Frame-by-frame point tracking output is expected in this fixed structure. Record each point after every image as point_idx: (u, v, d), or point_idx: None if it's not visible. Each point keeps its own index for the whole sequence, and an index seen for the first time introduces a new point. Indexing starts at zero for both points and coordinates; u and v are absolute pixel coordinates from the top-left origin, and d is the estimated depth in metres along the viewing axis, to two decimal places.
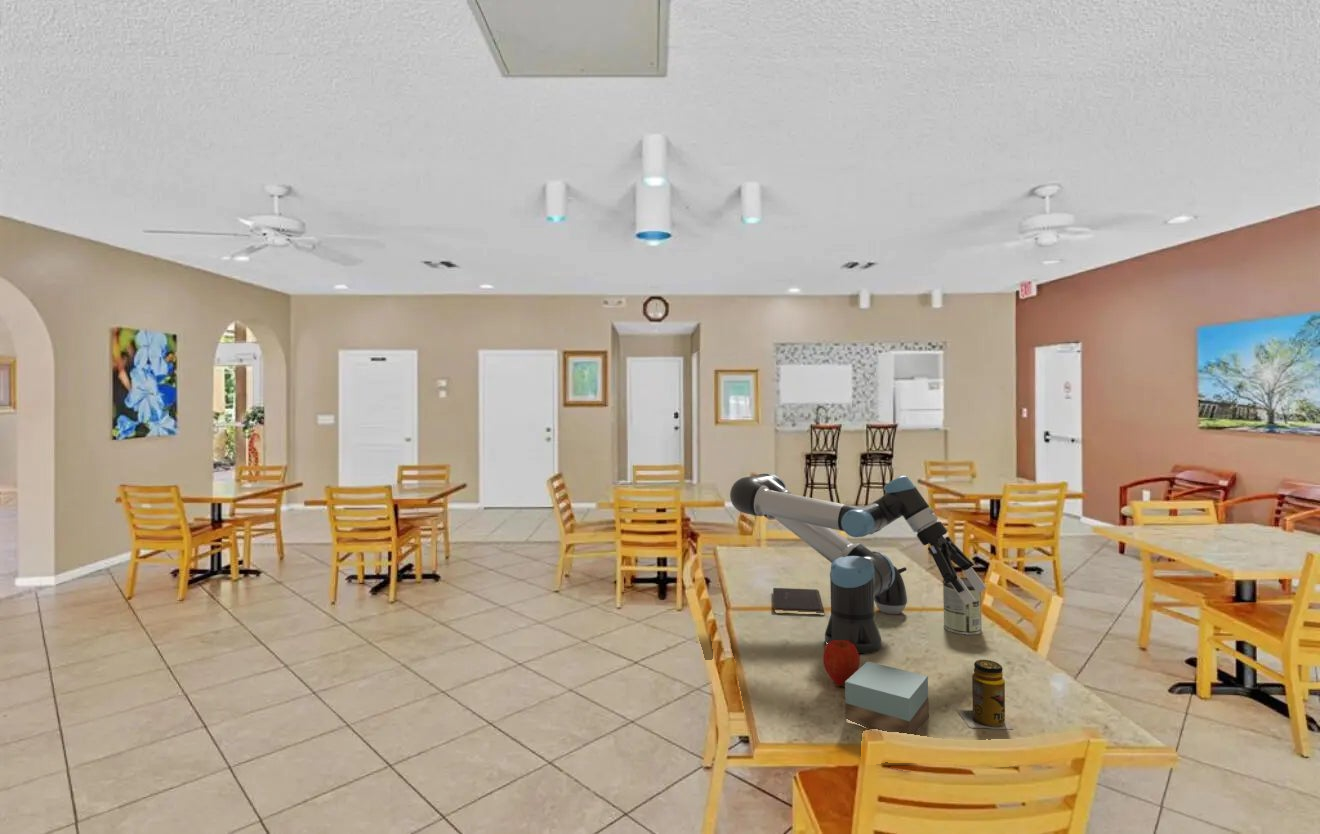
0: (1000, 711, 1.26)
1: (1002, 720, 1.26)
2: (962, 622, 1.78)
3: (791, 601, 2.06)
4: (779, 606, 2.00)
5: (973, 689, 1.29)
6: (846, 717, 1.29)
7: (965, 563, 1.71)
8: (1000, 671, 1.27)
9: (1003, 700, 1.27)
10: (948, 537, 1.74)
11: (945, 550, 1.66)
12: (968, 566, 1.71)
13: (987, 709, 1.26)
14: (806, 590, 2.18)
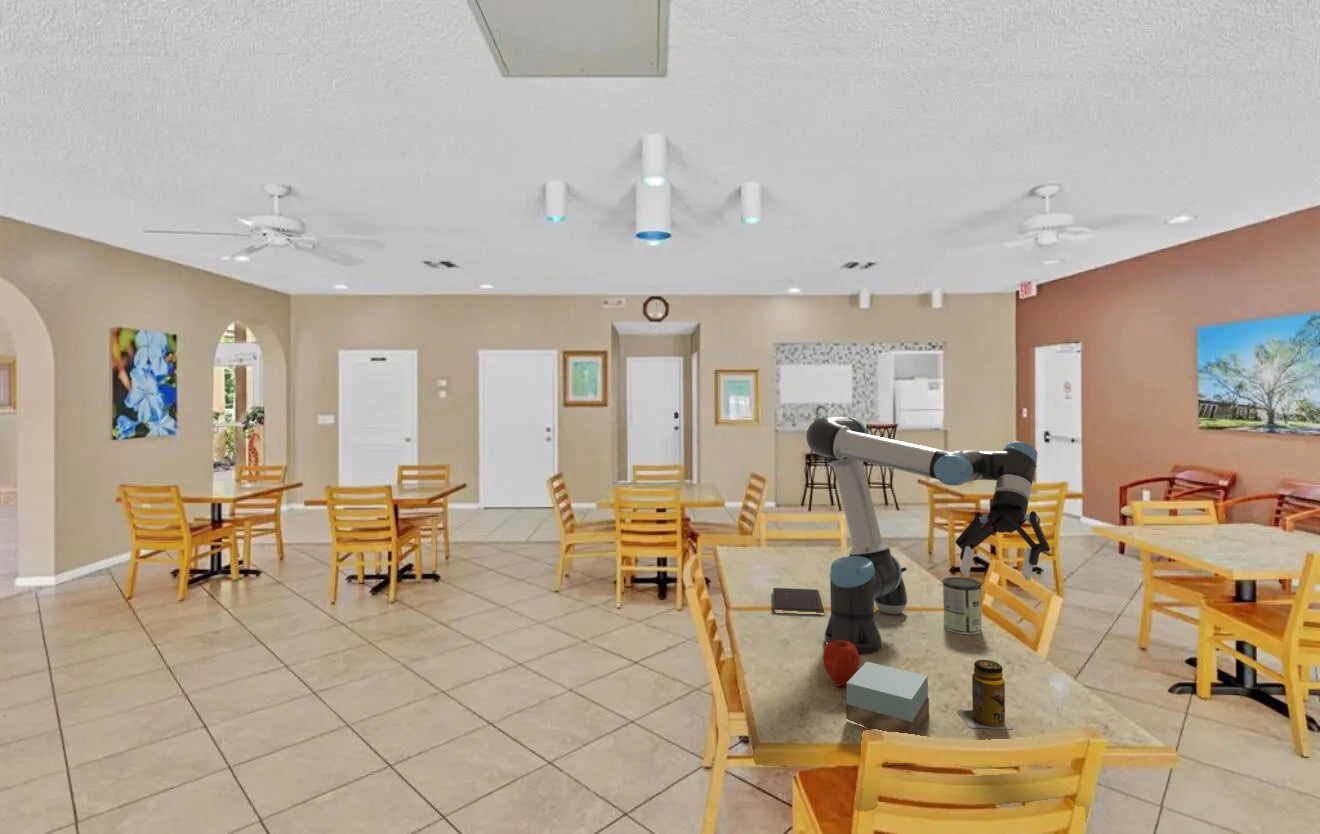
0: (1000, 711, 1.26)
1: (1002, 720, 1.26)
2: (962, 622, 1.78)
3: (791, 601, 2.06)
4: (779, 606, 2.00)
5: (973, 689, 1.29)
6: (847, 717, 1.29)
7: (975, 545, 1.48)
8: (1000, 671, 1.27)
9: (1003, 700, 1.27)
10: None
11: None
12: None
13: (987, 709, 1.26)
14: (806, 590, 2.18)
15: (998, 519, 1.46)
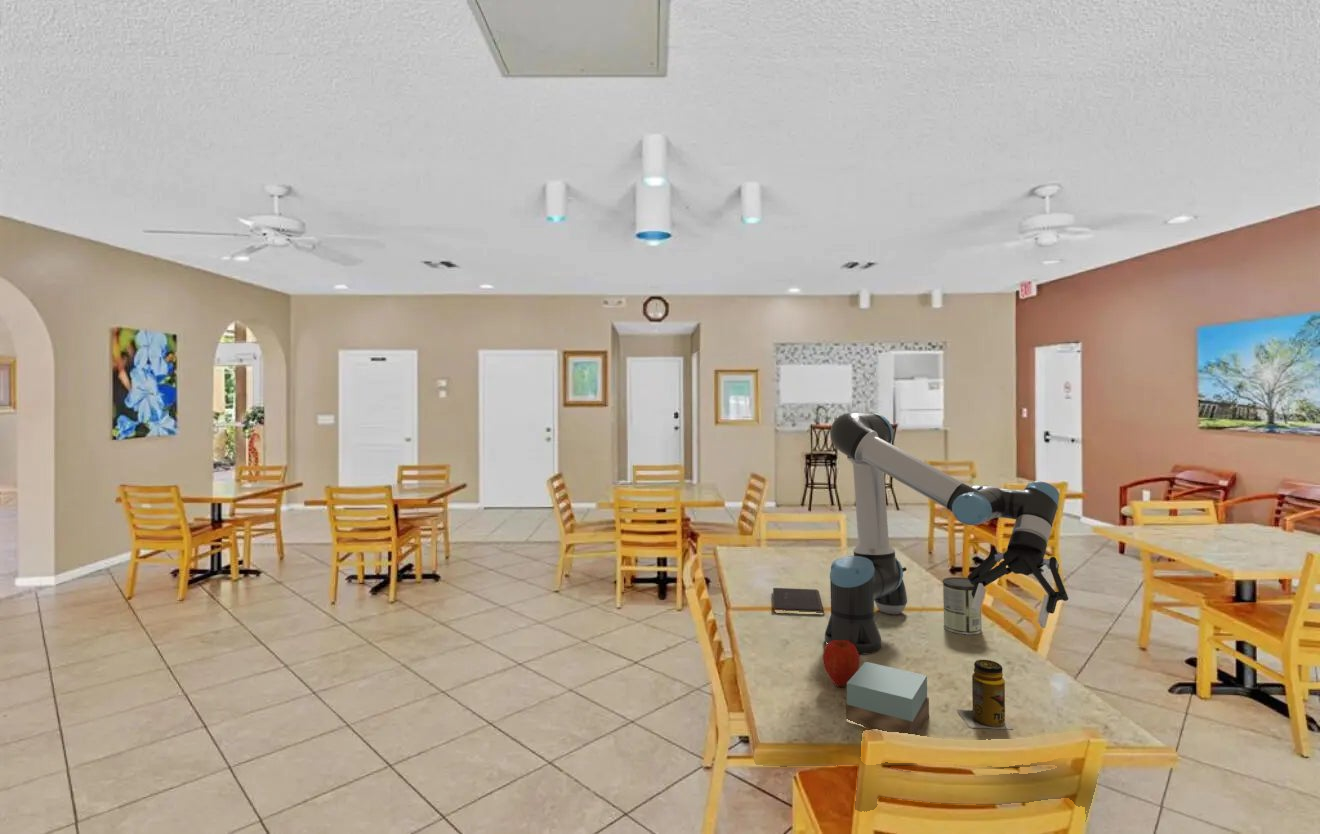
0: (1000, 711, 1.26)
1: (1002, 720, 1.26)
2: (962, 622, 1.78)
3: (791, 601, 2.06)
4: (779, 606, 2.00)
5: (973, 689, 1.29)
6: (847, 717, 1.29)
7: (988, 583, 1.44)
8: (1000, 671, 1.27)
9: (1003, 700, 1.27)
10: None
11: None
12: (982, 586, 1.44)
13: (987, 709, 1.26)
14: (806, 590, 2.18)
15: (1015, 560, 1.42)
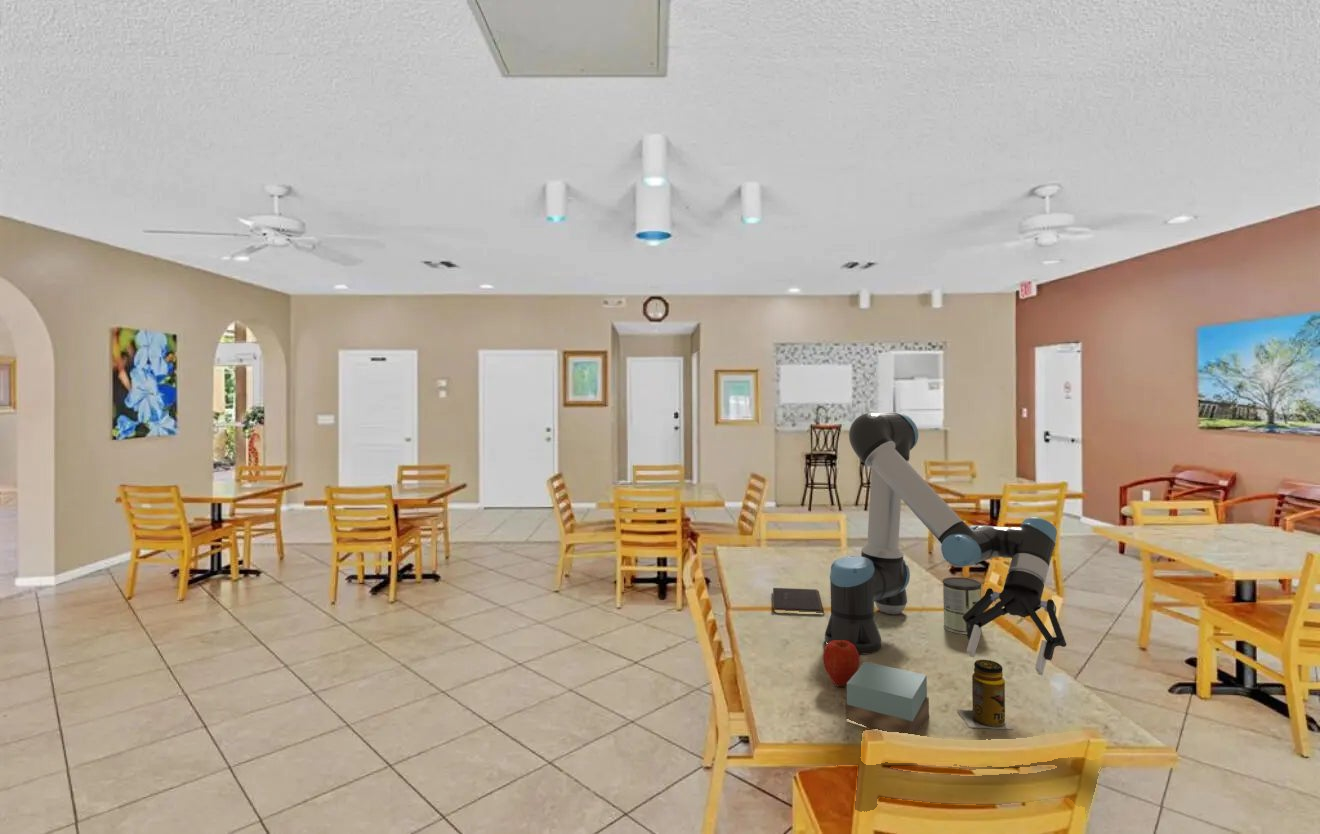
0: (1000, 711, 1.26)
1: (1002, 720, 1.26)
2: (962, 622, 1.78)
3: (791, 601, 2.06)
4: (779, 606, 2.00)
5: (973, 689, 1.29)
6: (847, 717, 1.29)
7: (983, 624, 1.40)
8: (1000, 671, 1.27)
9: (1003, 700, 1.27)
10: None
11: None
12: None
13: (987, 709, 1.26)
14: (806, 590, 2.18)
15: (1012, 601, 1.38)
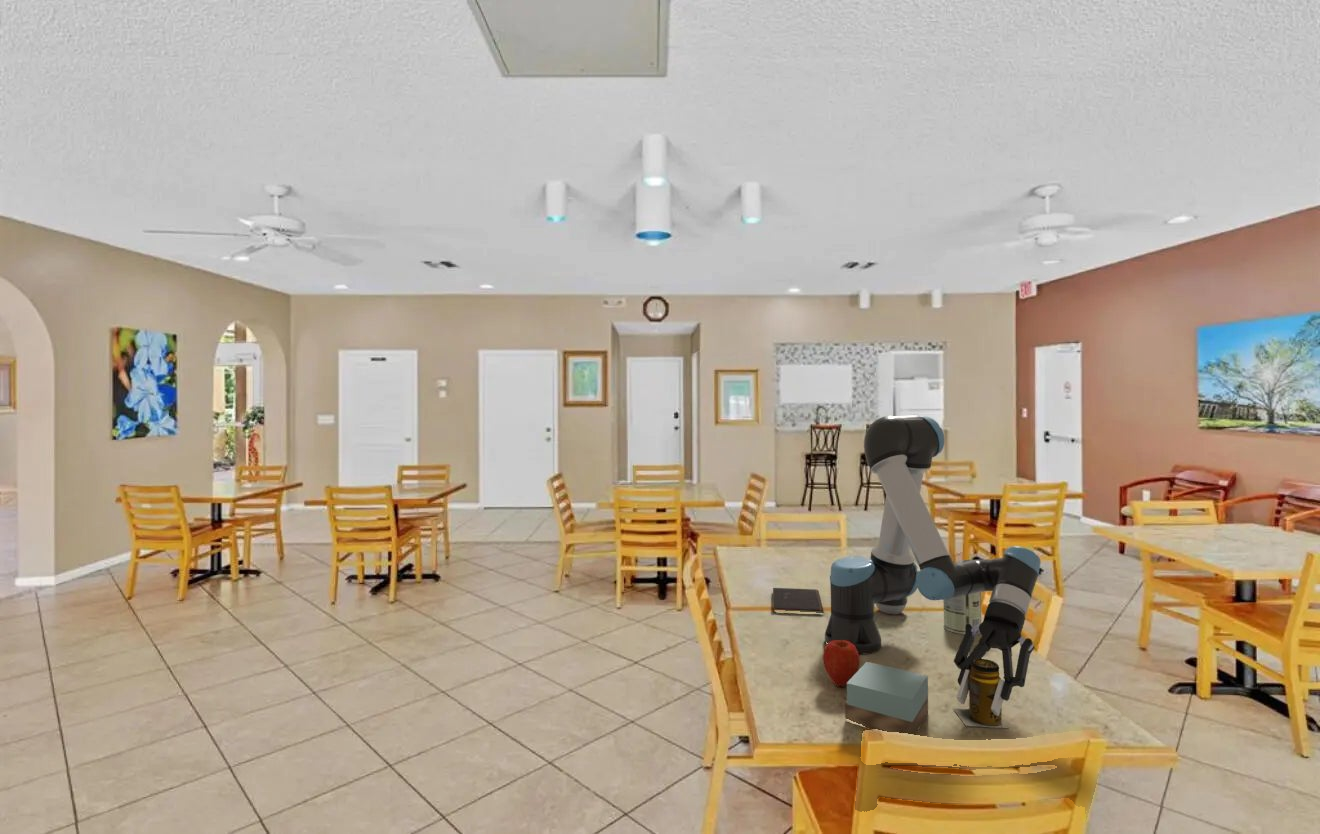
0: None
1: (999, 719, 1.27)
2: (962, 622, 1.78)
3: (791, 601, 2.06)
4: (779, 606, 2.00)
5: (970, 687, 1.30)
6: (846, 716, 1.29)
7: None
8: (996, 670, 1.27)
9: None
10: None
11: (1010, 648, 1.32)
12: (970, 671, 1.33)
13: (983, 708, 1.27)
14: (806, 590, 2.18)
15: (992, 633, 1.34)
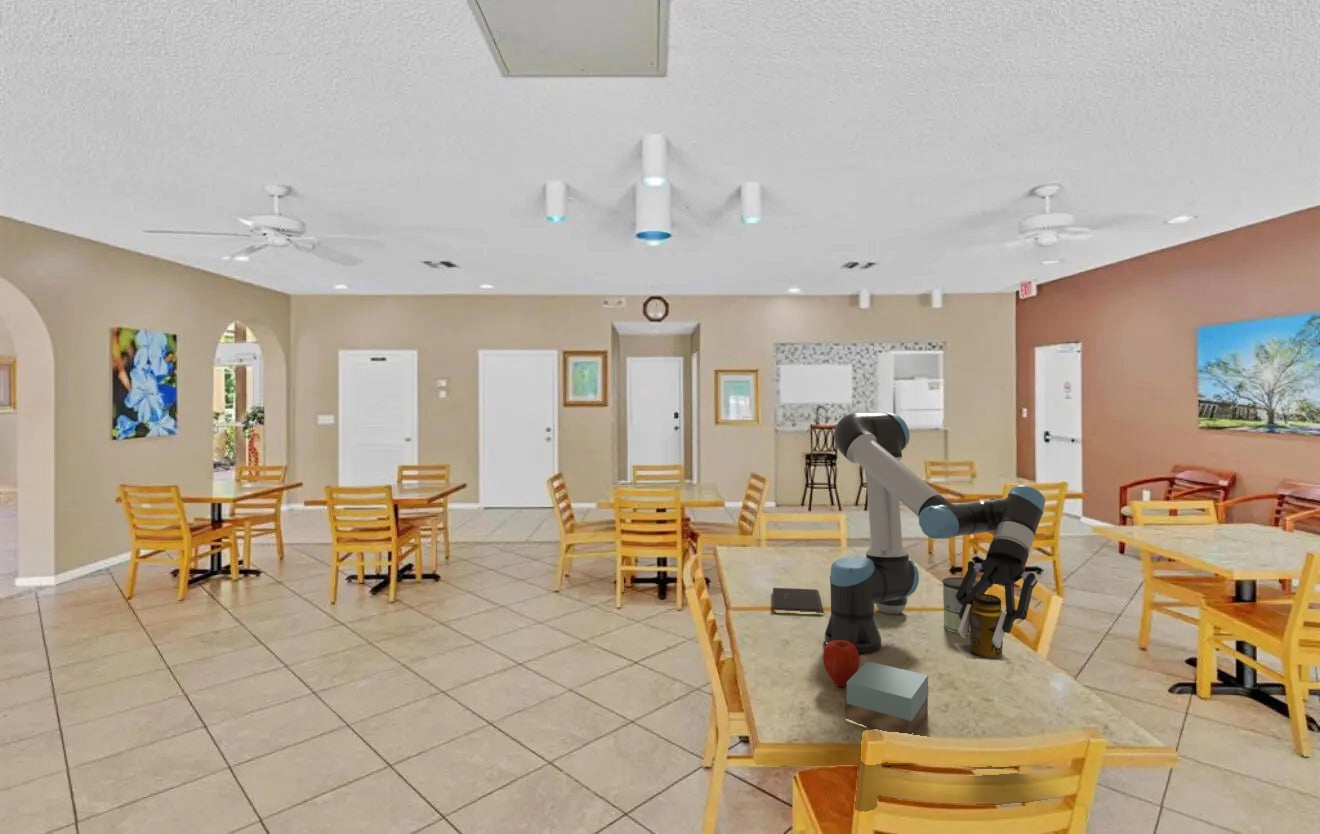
0: None
1: (999, 652, 1.26)
2: None
3: (791, 601, 2.06)
4: (779, 606, 2.00)
5: (971, 621, 1.29)
6: (846, 716, 1.29)
7: None
8: (999, 603, 1.26)
9: None
10: None
11: (1013, 583, 1.31)
12: (971, 606, 1.32)
13: (984, 641, 1.26)
14: (806, 590, 2.18)
15: (995, 569, 1.33)
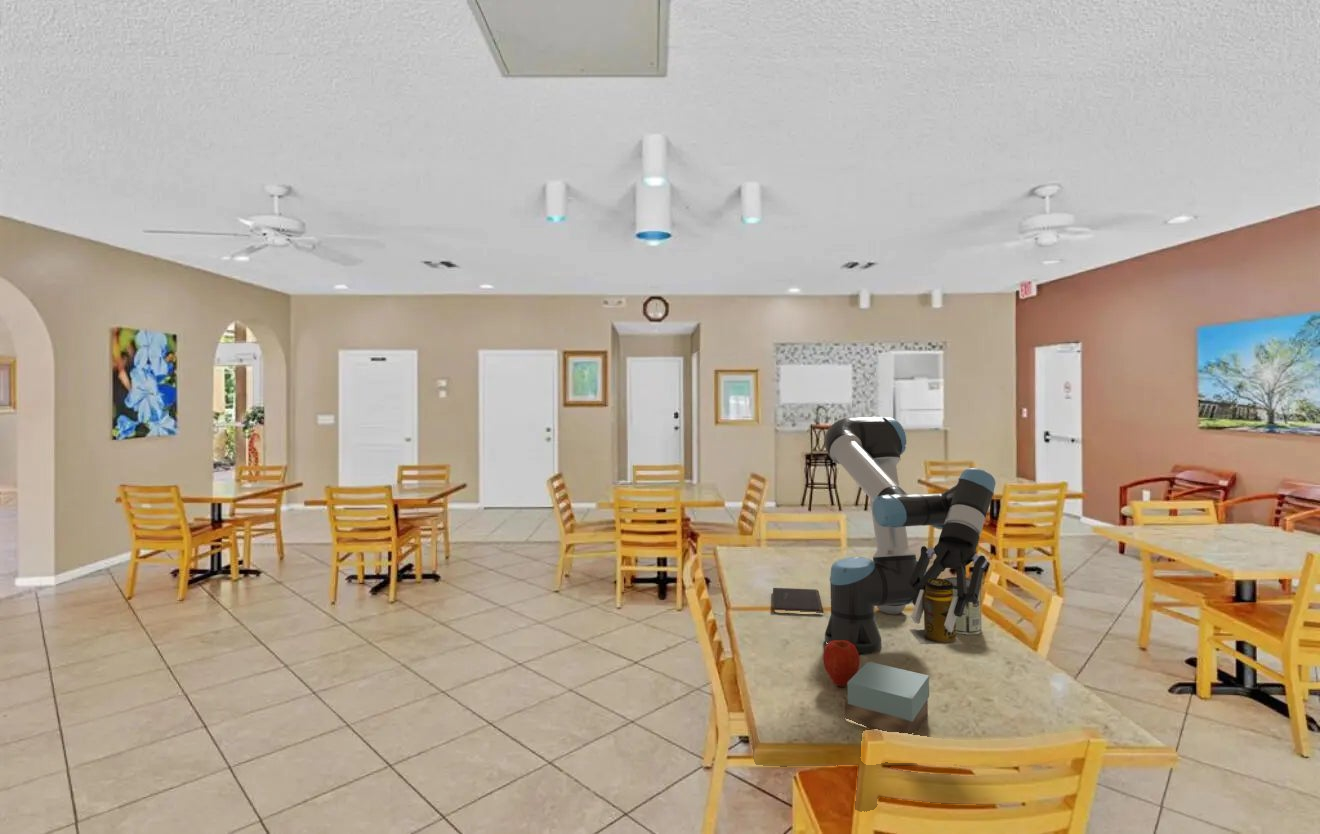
0: None
1: (953, 636, 1.26)
2: (962, 622, 1.78)
3: (790, 601, 2.06)
4: (779, 606, 2.00)
5: (924, 607, 1.29)
6: (846, 716, 1.29)
7: None
8: (950, 588, 1.26)
9: None
10: None
11: (964, 567, 1.31)
12: (925, 591, 1.32)
13: (937, 626, 1.26)
14: (806, 590, 2.18)
15: (947, 553, 1.33)
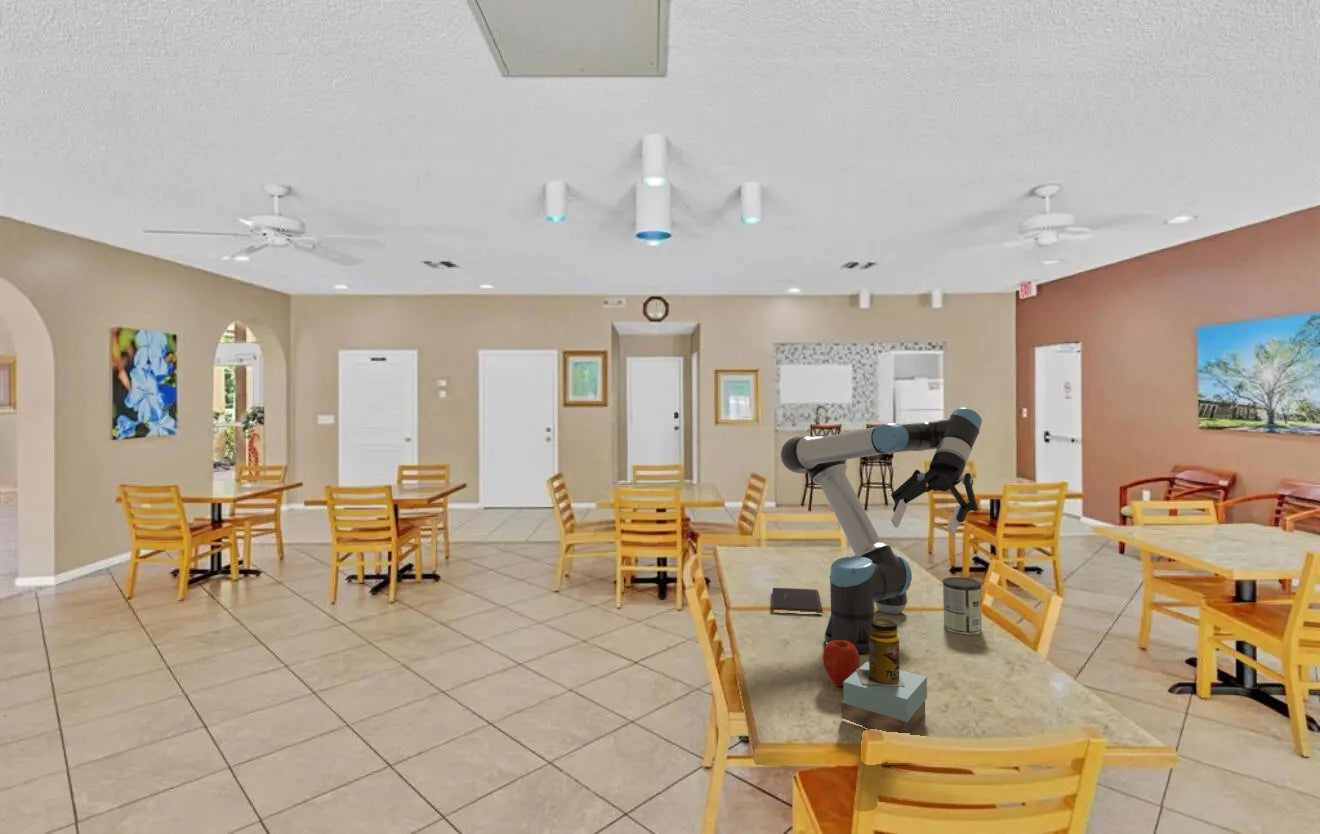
0: (893, 669, 1.27)
1: (895, 678, 1.27)
2: (962, 622, 1.78)
3: (790, 601, 2.06)
4: (778, 606, 2.00)
5: (869, 647, 1.30)
6: (842, 716, 1.29)
7: (909, 500, 1.53)
8: (893, 629, 1.28)
9: (896, 658, 1.28)
10: None
11: None
12: None
13: (880, 667, 1.28)
14: (805, 590, 2.18)
15: (934, 477, 1.50)
